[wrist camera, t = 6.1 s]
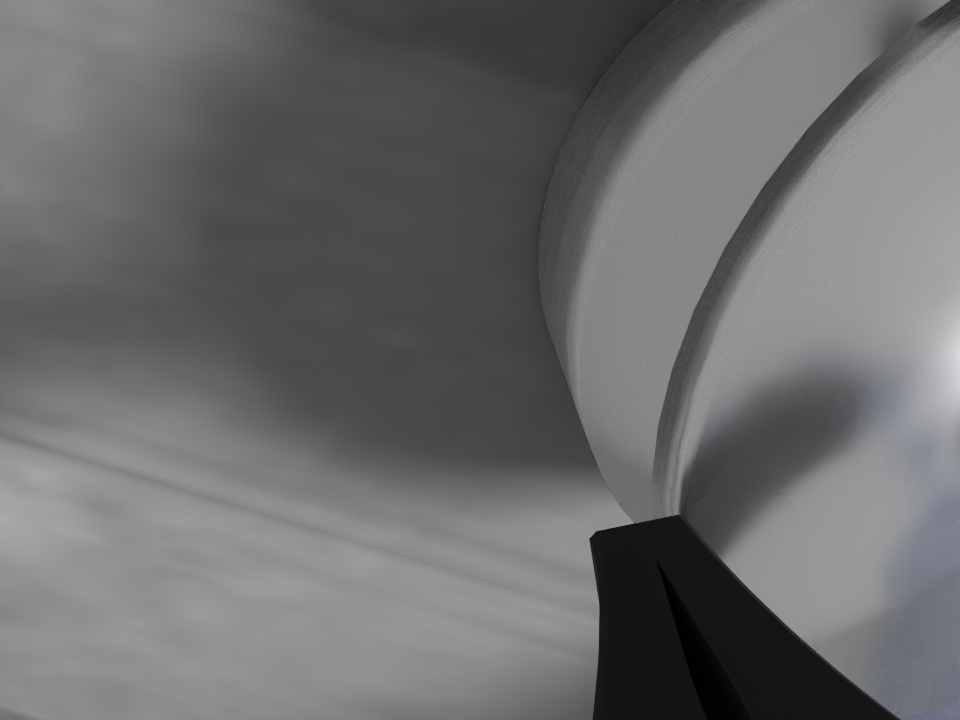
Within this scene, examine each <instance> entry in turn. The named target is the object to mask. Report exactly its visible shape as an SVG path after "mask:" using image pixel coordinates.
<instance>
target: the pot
mask: <svg viewBox="0 0 960 720" xmlns="http://www.w3.org/2000/svg"><path fill="white" fill-rule="evenodd" d="M949 1H950V0H673V1H672V2H671V3H669V4H668V5H667V6H665V7H664V8H663V9H662V10H661V11H660V12H659V13H658V14H657V15H656V16H655V17H654V18H653V19H652V20H651V21H650V22H649V23H648V24H647V25H646V26H645V27H644V28H643V29H641V30H640V31H639V32H638V33H637V34H636V35H635V36H634V37H633V38H632V39H631V40H630V41H629V43H628V44H627V45H626V46H625V48H624V49H623V50H622V51H621V53H620V54H619V55H618V56H617V57H616V59H615V60H614V61H613V62H612V64H611V65H610V66H609V67H608V69H607V70H606V71H605V72H604V74H603V75H602V76H601V77H600V79H599V81H598V82H597V84H596V85H595V87H594V89H593V90H592V92H591V93H590V95H589V97H588V98H587V100H586V101H585V103H584V105H583V106H582V108H581V109H580V111H579V113H578V114H577V116H576V118H575V120H574V123H573V125H572V127H571V129H570V131H569V133H568V135H567V137H566V140H565V142H564V144H563V146H562V148H561V150H560V152H559V155H558V158H557V161H556V164H555V167H554V171H553V174H552V177H551V180H550V183H549V186H548V189H547V192H546V198H545V203H544V208H543V214H542V219H541V224H540V231H539V250H538V273H539V285H540V296H541V302H542V306H543V310H544V315H545V319H546V323H547V327H548V331H549V334H550V337H551V339H552V342H553V345H554V348H555V350H556V353H557V356H558V359H559V362H560V364H561V367H562V370H563V373H564V375H565V378H566V381H567V384H568V387H569V389H570V392H571V395H572V398H573V400H574V403H575V406H576V409H577V412H578V414H579V417H580V420H581V423H582V425H583V428H584V431H585V434H586V436H587V439H588V442H589V445H590V447H591V450H592V452H593V455H594V457H595V460H596V462H597V465H598V467H599V469H600V472H601V474H602V477H603V479H604V481H605V483H606V484H607V486H608V487H609V489H610V491H611V492H612V494H613V495H614V497H615V499H616V500H617V502H618V503H619V505H620V507H621V508H622V510H623V511H624V512H625V513H626V514H627V515H628V516H629V518H630V519H631V520H632V521H633V522H634V523H640V522H645V521H649V520H653V507H652V472H653V464H654V455H655V447H656V439H657V430H658V424H659V420H660V416H661V412H662V408H663V404H664V400H665V396H666V392H667V387H668V383H669V379H670V375H671V371H672V368H673V365H674V363H675V360H676V357H677V355H678V352H679V349H680V347H681V344H682V341H683V338H684V336H685V333H686V330H687V328H688V325H689V322H690V320H691V317H692V314H693V311H694V309H695V307H696V305H697V303H698V301H699V299H700V297H701V295H702V293H703V291H704V289H705V287H706V285H707V283H708V281H709V279H710V277H711V275H712V273H713V271H714V269H715V267H716V265H717V263H718V260H719V258H720V256H721V254H722V252H723V250H724V248H725V247H726V245H727V244H728V242H729V240H730V239H731V237H732V236H733V234H734V232H735V231H736V229H737V228H738V226H739V224H740V223H741V221H742V220H743V218H744V216H745V215H746V213H747V212H748V210H749V208H750V207H751V205H752V204H753V202H754V200H755V199H756V197H757V195H758V194H759V192H760V191H761V189H762V188H763V186H764V185H765V184H766V182H767V181H768V180H769V178H770V177H771V176H772V174H773V173H774V172H775V171H776V169H777V168H778V167H779V165H780V164H781V163H782V161H783V160H784V159H785V157H786V156H787V155H788V154H789V152H790V151H791V150H792V148H793V147H794V146H795V144H796V143H797V142H798V140H799V139H800V138H801V137H802V135H803V134H804V133H805V131H806V130H807V129H808V128H809V127H810V126H811V125H812V123H813V122H814V121H815V120H816V119H817V118H818V117H819V116H820V115H821V114H822V113H823V112H824V111H825V110H826V108H827V107H828V106H829V105H830V104H831V103H832V102H833V101H834V100H835V99H836V98H837V97H838V96H839V94H840V93H841V92H842V91H843V90H844V89H845V88H846V87H847V86H848V85H849V84H850V83H851V82H852V81H853V79H854V78H855V77H856V76H857V75H858V74H859V73H860V72H862V71H863V70H864V69H865V68H866V67H867V66H868V65H870V64H871V63H872V62H873V61H874V60H875V59H876V58H878V57H879V56H880V55H881V54H882V53H883V52H884V51H886V50H887V49H888V48H889V47H890V46H891V45H892V44H894V43H895V42H896V41H897V40H898V39H899V38H900V37H902V36H903V35H904V34H905V33H906V32H907V31H908V30H910V29H911V28H912V27H913V26H914V25H916V24H917V23H919V22H920V21H922V20H923V19H924V18H926V17H927V16H929V15H930V14H932V13H933V12H934V11H936V10H937V9H939V8H940V7H942V6H943V5H945V4H946V3H947V2H949Z"/></svg>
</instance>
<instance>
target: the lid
mask: <svg viewBox="0 0 960 720" xmlns="http://www.w3.org/2000/svg"><path fill="white" fill-rule="evenodd" d="M652 507H653V520H654V519H659V518H664V517H669V516H674V515H681V516H682V517H684V518H685V519H687V520H688V522H689V523H690V524H691V525H692V527H693V528H694V529H695V530H696V531H697V533H698V534H699V535H700V536H701V537H702V539H703V540H704V541H705V542H706V543H707V544H708V545H709V547H710V548H711V549H712V550H713V551H714V552H715V553H716V554H717V556H718V557H719V558H720V559H721V560H722V561H723V562H724V563H725V564H726V565H727V566H728V567H729V568H730V570H731V571H732V572H733V573H734V574H735V575H736V576H737V577H738V578H739V579H740V580H741V581H742V582H743V583H744V584H745V585H746V586H747V587H748V588H749V589H750V590H751V591H752V592H753V593H754V594H755V595H756V596H757V597H758V598H759V599H760V600H761V601H762V602H763V603H764V604H765V605H766V606H767V607H768V608H769V609H770V610H771V611H772V612H773V613H774V614H775V615H777V616H778V617H779V618H780V619H781V620H782V621H783V622H784V623H785V624H786V625H787V626H788V627H789V628H790V629H791V630H792V631H794V632H795V633H796V634H797V635H798V636H799V637H800V638H801V639H802V640H803V641H805V642H806V643H807V644H808V645H809V646H810V647H811V648H813V649H814V650H815V651H816V652H817V653H818V654H819V655H821V656H822V657H823V658H824V659H825V660H826V661H828V662H829V663H830V664H831V665H832V666H833V667H835V668H836V669H837V670H838V671H839V672H841V673H842V674H843V675H844V676H845V677H847V678H848V679H849V680H850V681H851V682H853V683H854V684H855V685H856V686H858V687H859V688H860V689H861V690H863V691H864V692H865V693H867V694H868V695H869V696H870V697H872V698H873V699H874V700H876V701H877V702H878V703H880V704H881V705H882V706H884V707H885V708H886V709H887V710H889V711H890V712H891V713H893V714H894V715H895V716H897V717H898V718H899V719H902V718H906V717H910V716H914V715H919V714H923V713H927V712H931V711H934V710H937V709H939V708H942V707H945V706H948V705H951V704H954V703H956V702H959V701H960V0H950V1H949V2H947V3H946V4H945V5H943V6H942V7H940V8H939V9H937V10H936V11H934V12H933V13H932V14H930V15H929V16H927V17H926V18H924V19H923V20H922V21H920V22H919V23H917V24H916V25H914V26H913V27H912V28H911V29H910V30H908V31H907V32H906V33H905V34H904V35H903V36H902V37H900V38H899V39H898V40H897V41H896V42H895V43H894V44H892V45H891V46H890V47H889V48H888V49H887V50H886V51H884V52H883V53H882V54H881V55H880V56H879V57H878V58H876V59H875V60H874V61H873V62H872V63H871V64H870V65H868V66H867V67H866V68H865V69H864V70H863V71H862V72H860V73H859V74H858V75H857V76H856V77H855V78H854V79H853V81H852V82H851V83H850V84H849V85H848V86H847V87H846V88H845V89H844V90H843V91H842V92H841V93H840V94H839V96H838V97H837V98H836V99H835V100H834V101H833V102H832V103H831V104H830V105H829V106H828V107H827V108H826V110H825V111H824V112H823V113H822V114H821V115H820V116H819V117H818V118H817V119H816V120H815V121H814V122H813V123H812V125H811V126H810V127H809V128H808V129H807V130H806V131H805V133H804V134H803V135H802V137H801V138H800V139H799V140H798V142H797V143H796V144H795V146H794V147H793V148H792V150H791V151H790V152H789V154H788V155H787V156H786V157H785V159H784V160H783V161H782V163H781V164H780V165H779V167H778V168H777V169H776V171H775V172H774V173H773V174H772V176H771V177H770V178H769V180H768V181H767V182H766V184H765V185H764V186H763V188H762V189H761V191H760V192H759V194H758V195H757V197H756V199H755V200H754V202H753V204H752V205H751V207H750V208H749V210H748V212H747V213H746V215H745V216H744V218H743V220H742V221H741V223H740V224H739V226H738V228H737V229H736V231H735V232H734V234H733V236H732V237H731V239H730V240H729V242H728V244H727V245H726V247H725V248H724V250H723V252H722V254H721V256H720V258H719V260H718V263H717V265H716V267H715V269H714V271H713V273H712V275H711V277H710V279H709V281H708V283H707V285H706V287H705V289H704V291H703V293H702V295H701V297H700V299H699V301H698V303H697V305H696V307H695V309H694V311H693V314H692V317H691V320H690V322H689V325H688V328H687V330H686V333H685V336H684V338H683V341H682V344H681V347H680V349H679V352H678V355H677V357H676V360H675V363H674V365H673V368H672V371H671V375H670V379H669V383H668V387H667V392H666V396H665V400H664V404H663V408H662V412H661V416H660V420H659V424H658V430H657V439H656V447H655V455H654V464H653V472H652Z"/></svg>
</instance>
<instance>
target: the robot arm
mask: <svg viewBox="0 0 960 720" xmlns="http://www.w3.org/2000/svg"><path fill="white" fill-rule="evenodd" d="M590 545H591V552H592V558H593V565H594V571H595V578H596V584H597V591H598V597H599V605H600V618H599V658H598V671H597V682H596V693H595V704H594V713H593V720H960V701H959V702H956V703H954V704H951V705H948V706H945V707H942V708H939V709H937V710H934V711H931V712H927V713H923V714H919V715H914V716H910V717H906V718H902V719H899V718H898V717H897V716H895V715H894V714H893V713H891V712H890V711H889V710H887V709H886V708H885V707H884V706H882V705H881V704H880V703H878V702H877V701H876V700H874V699H873V698H872V697H870V696H869V695H868V694H867V693H865V692H864V691H863V690H861V689H860V688H859V687H858V686H856V685H855V684H854V683H853V682H851V681H850V680H849V679H848V678H847V677H845V676H844V675H843V674H842V673H841V672H839V671H838V670H837V669H836V668H835V667H833V666H832V665H831V664H830V663H829V662H828V661H826V660H825V659H824V658H823V657H822V656H821V655H819V654H818V653H817V652H816V651H815V650H814V649H813V648H811V647H810V646H809V645H808V644H807V643H806V642H805V641H803V640H802V639H801V638H800V637H799V636H798V635H797V634H796V633H795V632H794V631H792V630H791V629H790V628H789V627H788V626H787V625H786V624H785V623H784V622H783V621H782V620H781V619H780V618H779V617H778V616H777V615H775V614H774V613H773V612H772V611H771V610H770V609H769V608H768V607H767V606H766V605H765V604H764V603H763V602H762V601H761V600H760V599H759V598H758V597H757V596H756V595H755V594H754V593H753V592H752V591H751V590H750V589H749V588H748V587H747V586H746V585H745V584H744V583H743V582H742V581H741V580H740V579H739V578H738V577H737V576H736V575H735V574H734V573H733V572H732V571H731V570H730V568H729V567H728V566H727V565H726V564H725V563H724V562H723V561H722V560H721V559H720V558H719V557H718V556H717V554H716V553H715V552H714V551H713V550H712V549H711V548H710V547H709V545H708V544H707V543H706V542H705V541H704V540H703V539H702V537H701V536H700V535H699V534H698V533H697V531H696V530H695V529H694V528H693V527H692V525H691V524H690V523H689V522H688V520H687V519H685V518H684V517H682V516H681V515H674V516H669V517H664V518H659V519H654V520H649V521H645V522H640V523H635V524H630V525H625V526H620V527H615V528H610V529H606V530H601V531H596V532H595V533H594V535H593V536H592V537H591V538H590Z"/></svg>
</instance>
